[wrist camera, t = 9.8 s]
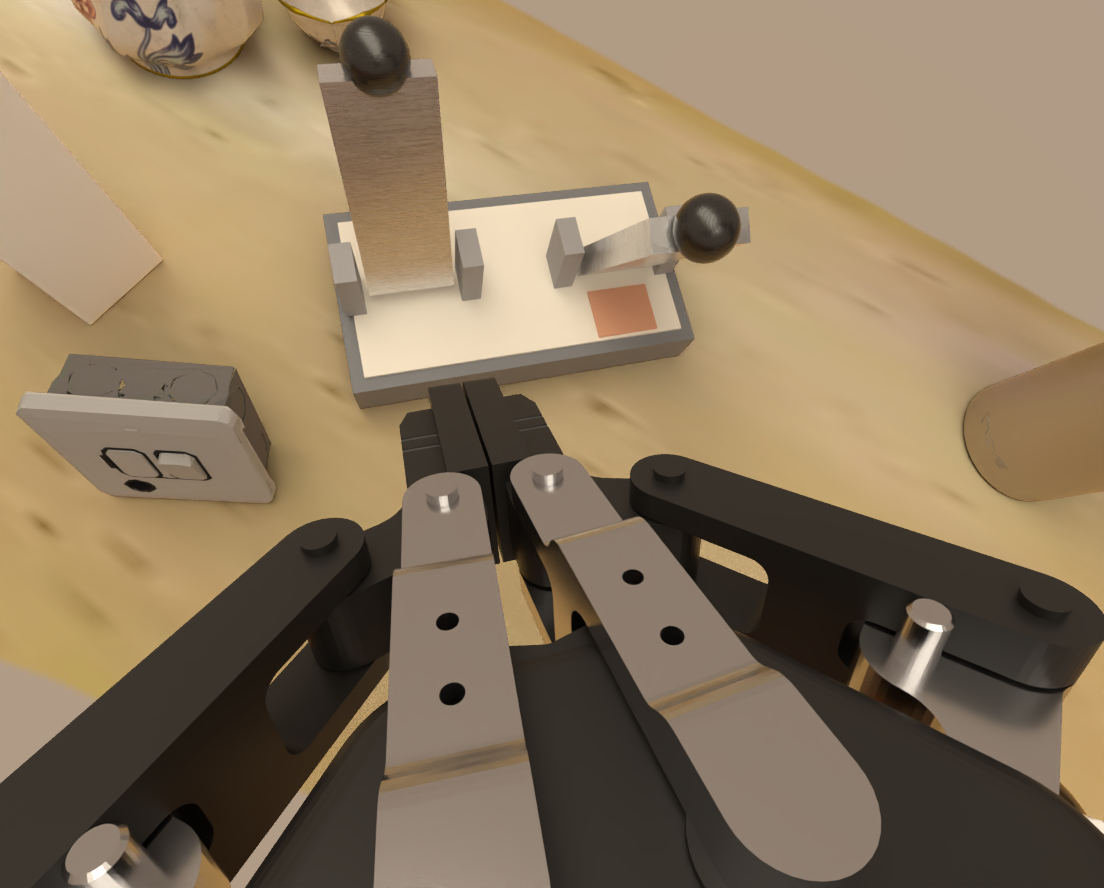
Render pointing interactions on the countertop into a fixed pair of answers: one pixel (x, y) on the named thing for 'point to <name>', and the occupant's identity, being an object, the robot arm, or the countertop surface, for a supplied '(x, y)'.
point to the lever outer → (390, 156)
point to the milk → (62, 218)
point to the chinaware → (208, 29)
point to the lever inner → (672, 237)
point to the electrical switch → (155, 429)
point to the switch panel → (510, 298)
